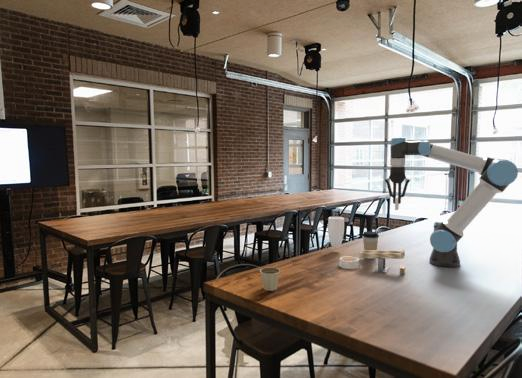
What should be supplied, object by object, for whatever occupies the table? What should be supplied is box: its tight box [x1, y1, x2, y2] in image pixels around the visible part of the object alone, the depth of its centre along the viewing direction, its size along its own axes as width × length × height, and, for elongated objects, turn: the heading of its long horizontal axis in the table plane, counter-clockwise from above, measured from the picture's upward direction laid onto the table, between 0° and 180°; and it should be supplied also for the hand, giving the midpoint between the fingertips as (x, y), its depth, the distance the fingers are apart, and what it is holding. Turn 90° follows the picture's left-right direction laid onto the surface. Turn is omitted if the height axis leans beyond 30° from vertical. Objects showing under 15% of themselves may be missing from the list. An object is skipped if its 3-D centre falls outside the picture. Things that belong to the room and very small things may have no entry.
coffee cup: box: [361, 231, 380, 260], centre depth 213 cm, size 9×9×15 cm
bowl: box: [338, 255, 360, 270], centre depth 198 cm, size 10×10×4 cm
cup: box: [327, 216, 345, 249], centre depth 227 cm, size 10×10×22 cm
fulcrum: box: [373, 258, 406, 276], centre depth 188 cm, size 14×11×7 cm
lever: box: [358, 249, 405, 260], centre depth 193 cm, size 22×13×3 cm, turn 62°
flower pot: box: [259, 266, 281, 292], centre depth 166 cm, size 9×9×9 cm
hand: (396, 209), depth 199 cm, fingers closed
